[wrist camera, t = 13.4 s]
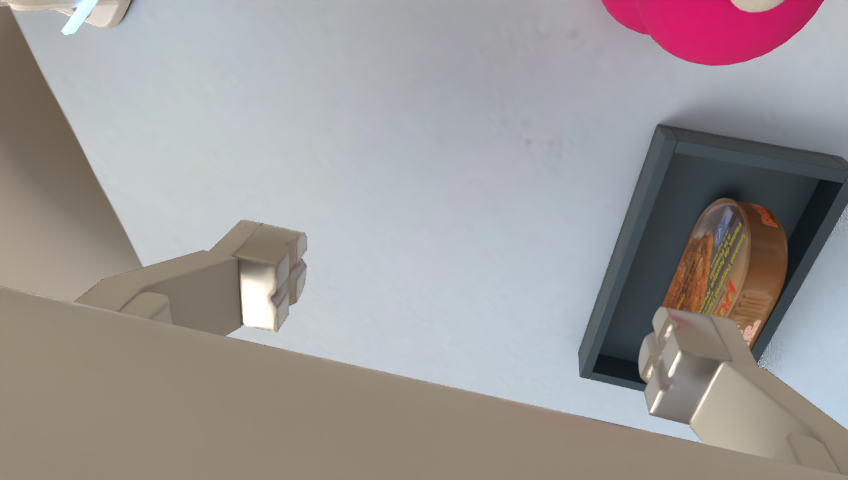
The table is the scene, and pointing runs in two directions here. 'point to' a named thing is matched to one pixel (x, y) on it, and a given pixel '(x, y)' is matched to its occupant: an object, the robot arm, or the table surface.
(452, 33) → the table surface
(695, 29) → the pepper mill
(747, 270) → the tin
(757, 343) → the tray
